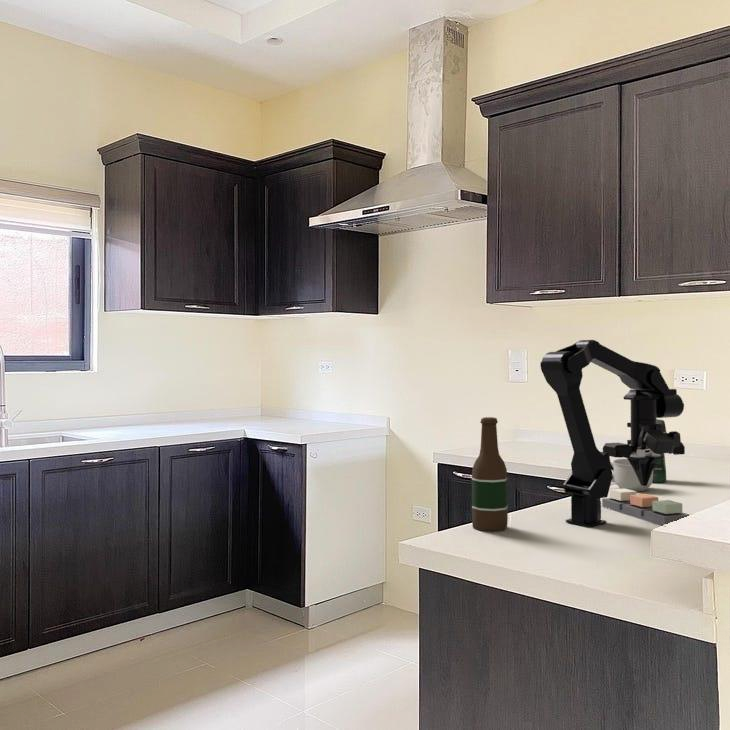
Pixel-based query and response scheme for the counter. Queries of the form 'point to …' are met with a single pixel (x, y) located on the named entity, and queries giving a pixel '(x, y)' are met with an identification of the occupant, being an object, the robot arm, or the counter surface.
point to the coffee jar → (660, 461)
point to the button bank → (642, 511)
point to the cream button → (621, 494)
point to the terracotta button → (642, 500)
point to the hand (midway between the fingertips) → (643, 485)
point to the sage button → (667, 506)
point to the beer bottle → (489, 483)
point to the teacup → (627, 476)
